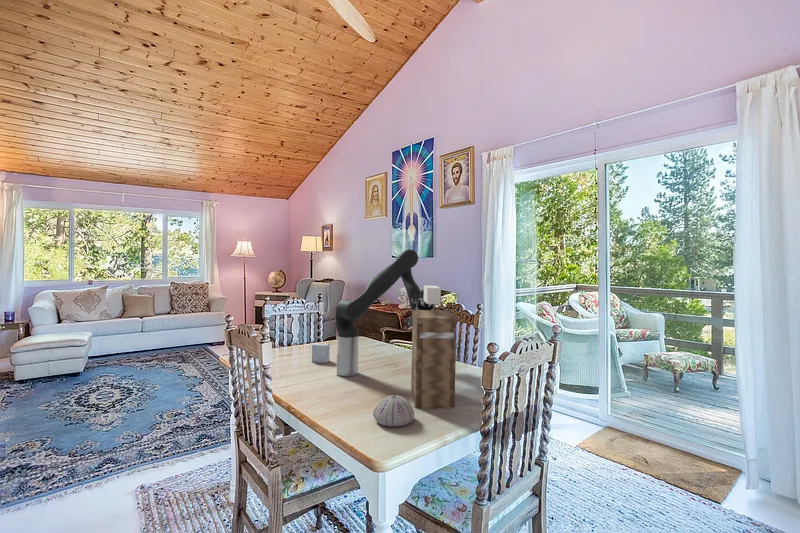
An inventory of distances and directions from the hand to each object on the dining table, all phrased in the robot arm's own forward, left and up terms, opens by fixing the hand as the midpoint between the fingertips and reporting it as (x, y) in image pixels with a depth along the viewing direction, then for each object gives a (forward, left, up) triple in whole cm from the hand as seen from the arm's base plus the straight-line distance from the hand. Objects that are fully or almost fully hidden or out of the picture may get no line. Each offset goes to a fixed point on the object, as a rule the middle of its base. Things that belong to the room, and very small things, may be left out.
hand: (428, 292), depth 163 cm
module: (0, -6, -3) cm, 6 cm away
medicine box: (-49, +36, -39) cm, 72 cm away
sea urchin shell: (-15, -35, -39) cm, 55 cm away
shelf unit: (0, -15, -39) cm, 42 cm away
